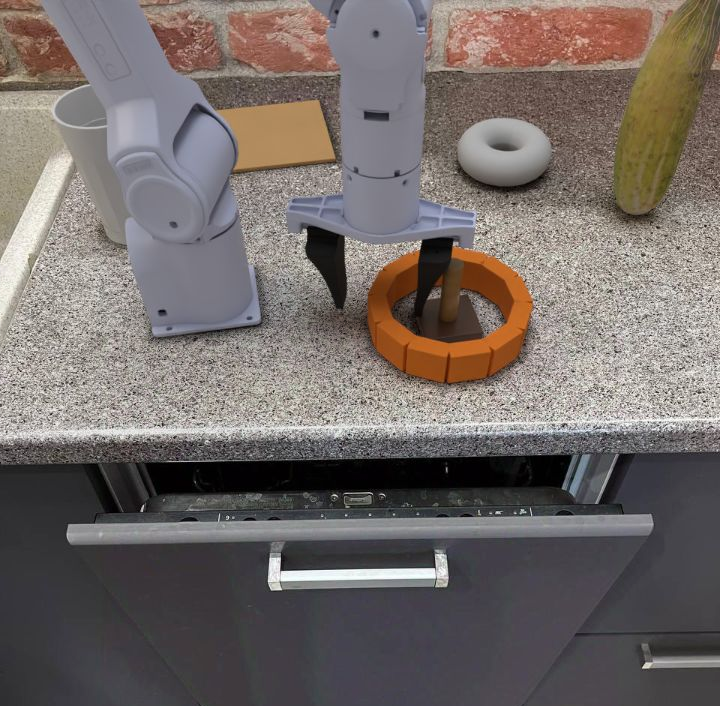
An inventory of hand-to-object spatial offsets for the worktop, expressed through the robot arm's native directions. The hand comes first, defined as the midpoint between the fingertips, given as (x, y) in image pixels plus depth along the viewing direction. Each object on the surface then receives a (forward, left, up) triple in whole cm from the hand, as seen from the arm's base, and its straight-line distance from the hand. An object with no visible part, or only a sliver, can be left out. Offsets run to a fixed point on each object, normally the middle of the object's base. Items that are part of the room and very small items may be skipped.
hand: (379, 305), depth 60 cm
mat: (-6, +32, -2) cm, 33 cm away
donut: (+18, +21, -2) cm, 28 cm away
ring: (+6, -2, -1) cm, 6 cm away
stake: (+6, -2, -1) cm, 6 cm away
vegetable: (+28, +11, -2) cm, 30 cm away
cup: (-21, +18, -2) cm, 28 cm away
